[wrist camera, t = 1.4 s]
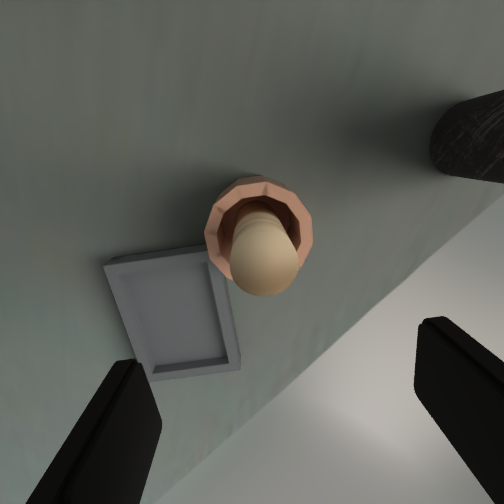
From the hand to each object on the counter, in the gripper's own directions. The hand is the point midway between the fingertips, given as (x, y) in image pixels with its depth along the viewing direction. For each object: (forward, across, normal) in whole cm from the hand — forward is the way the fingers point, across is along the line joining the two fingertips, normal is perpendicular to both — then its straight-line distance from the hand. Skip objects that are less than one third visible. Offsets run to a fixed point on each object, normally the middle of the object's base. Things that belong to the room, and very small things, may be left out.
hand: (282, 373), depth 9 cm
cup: (+22, 0, -1) cm, 22 cm away
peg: (+20, 0, -1) cm, 21 cm away
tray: (+22, +10, +9) cm, 26 cm away
